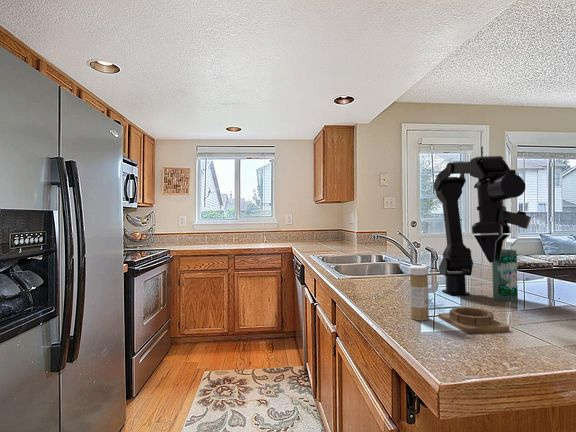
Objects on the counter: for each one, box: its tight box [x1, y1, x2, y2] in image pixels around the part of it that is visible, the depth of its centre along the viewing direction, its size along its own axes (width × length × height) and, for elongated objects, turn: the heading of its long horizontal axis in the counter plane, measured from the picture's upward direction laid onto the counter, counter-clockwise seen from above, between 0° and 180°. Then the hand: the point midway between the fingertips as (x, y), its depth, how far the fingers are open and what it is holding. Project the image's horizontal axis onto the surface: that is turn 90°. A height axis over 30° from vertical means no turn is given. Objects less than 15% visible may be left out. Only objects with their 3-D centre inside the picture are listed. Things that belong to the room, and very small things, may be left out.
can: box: [491, 248, 519, 303], centre depth 103 cm, size 6×6×15 cm
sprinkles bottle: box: [408, 265, 430, 322], centre depth 87 cm, size 5×5×13 cm
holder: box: [437, 306, 510, 334], centre depth 81 cm, size 12×10×3 cm
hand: (494, 261), depth 89 cm, fingers open, 9 cm apart
